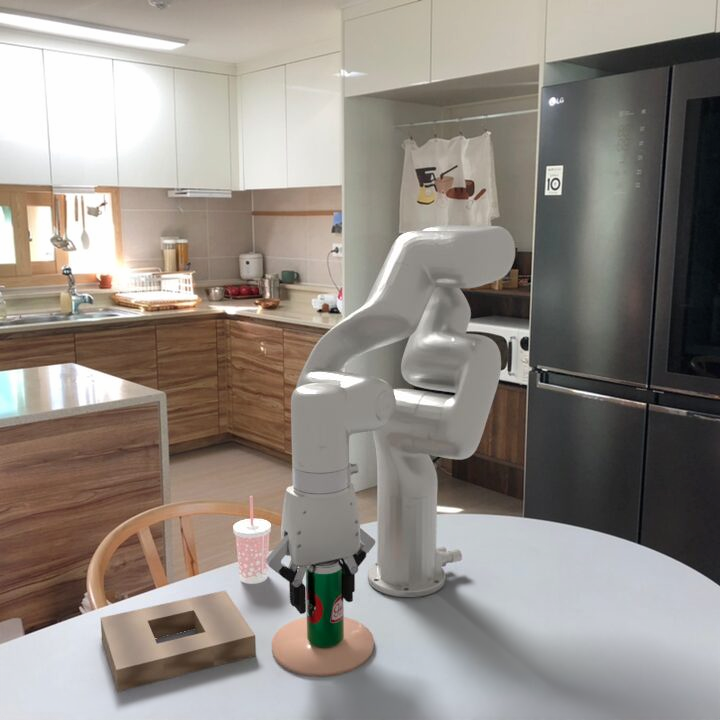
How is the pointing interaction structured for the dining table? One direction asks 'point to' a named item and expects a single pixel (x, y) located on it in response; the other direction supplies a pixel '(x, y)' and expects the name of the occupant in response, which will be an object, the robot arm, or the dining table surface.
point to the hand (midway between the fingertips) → (322, 602)
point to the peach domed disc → (322, 649)
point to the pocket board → (180, 656)
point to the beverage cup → (252, 548)
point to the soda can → (325, 604)
